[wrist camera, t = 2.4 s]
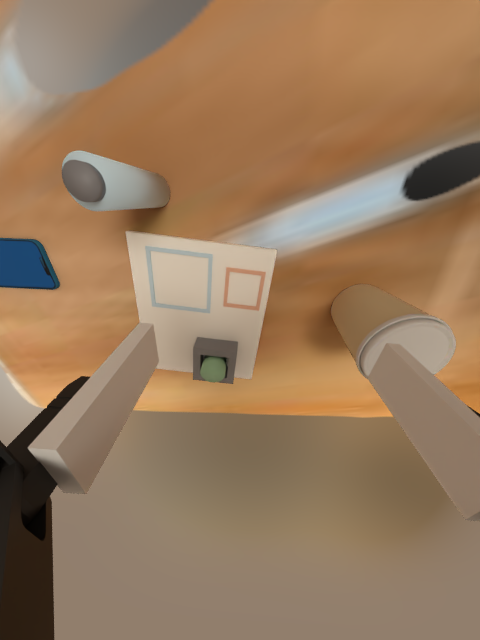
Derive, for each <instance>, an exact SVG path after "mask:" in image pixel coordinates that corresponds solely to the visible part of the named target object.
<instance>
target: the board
mask: <svg viewBox="0 0 480 640" xmlns="http://www.w3.org/2000/svg"><path fill="white" fill-rule="evenodd" d="M125 232H126V238H127V244H128V251H129V257H130V263H131V270H132V276H133V282H134V289H135V295H136V301H137V308H138V314H139V320H140V323H149V324H153V326H154V332H155V338H156V345H157V351H158V357H159V363H158V365H157V366H156V369H165V370H174V371H182V372H191V373H193V380H202V381H206V380H205V379H203V378H202V376H201V374H200V370H201V367H202V363H203V360H204V357H205V356H206V355H208V356H217V357H225V358H226V360H227V365H226V372H225V377H224V379H223V380H221V381H219V382H220V383H229V384H233V380H234V377H235V378H244V379H252V374H253V369H254V364H255V359H256V354H257V349H258V344H259V339H260V334H261V329H262V324H263V319H264V314H265V309H266V304H267V299H268V294H269V289H270V284H271V279H272V274H273V269H274V264H275V259H276V254H277V250H276V249H270V248H262V247H255V246H247V245H239V244H231V243H223V242H215V241H208V240H200V239H192V238H184V237H176V236H169V235H161V234H153V233H145V232H137V231H130V230H129V231H125Z"/></svg>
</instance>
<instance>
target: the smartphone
mask: <svg viewBox="0 0 480 640" xmlns="http://www.w3.org/2000/svg"><path fill="white" fill-rule="evenodd" d="M59 286H60V283H59V281H58V278H57V276H56V274H55V272H54V269H53V267H52V265H51V263H50V260H49V258H48V256H47V254H46V251H45V249H44V247H43V245H42V244H41V243H40V242H39V241H37V240H34V239H13V238H0V287H9V288H29V289H50V290H53V289H56V288H58V287H59Z"/></svg>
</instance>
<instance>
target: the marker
mask: <svg viewBox="0 0 480 640" xmlns="http://www.w3.org/2000/svg"><path fill="white" fill-rule="evenodd" d="M62 178H63V182H64V184H65V186H66V188H67V190H68V192H69V193H70V195H71V196H72V197H73V198H74V199H75V200H76V201H77V202H78V203H79V204H80V205H81V206H83V207H85V208H87V209H89V210H92V211H110V210H126V209H142V208H158V207H163V206H165V205H166V204H167V203H168V201H169V199H170V188H169V185H168V183H167V181H166V180H165V179H164V178H163V177H162V176H161V175H159V174H157V173H154V172H151V171H147V170H144V169H141V168H138V167H134V166H131V165H128V164H124V163H121V162H118V161H115V160H111V159H108V158H105V157H102V156H98V155H95V154H92V153H88V152H85V151H73V152H71V153H69V154H68V155H67V156H66V157H65V159H64V161H63V164H62Z"/></svg>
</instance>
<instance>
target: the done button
mask: <svg viewBox="0 0 480 640" xmlns="http://www.w3.org/2000/svg"><path fill="white" fill-rule="evenodd" d="M226 365H227V360H226V358H225V357H217V356H208V355H206V356H205V357H204V360H203V363H202V367H201V370H200V374H201V376H202V378H203V379H205V380H206V381H209V382H219V381H221V380H223V379H224V377H225V372H226Z"/></svg>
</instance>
